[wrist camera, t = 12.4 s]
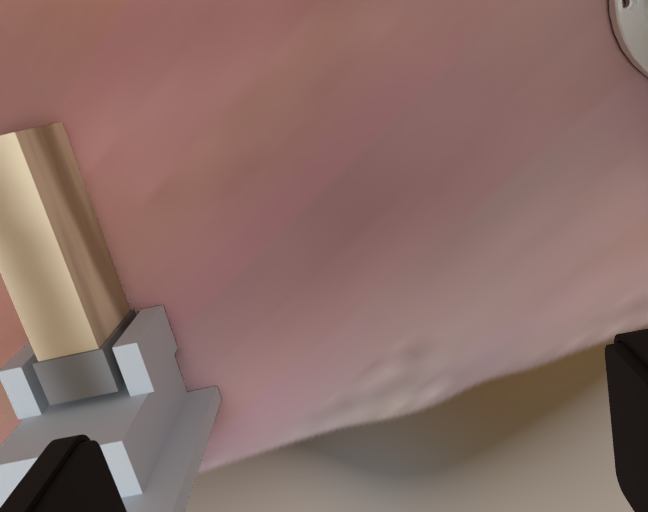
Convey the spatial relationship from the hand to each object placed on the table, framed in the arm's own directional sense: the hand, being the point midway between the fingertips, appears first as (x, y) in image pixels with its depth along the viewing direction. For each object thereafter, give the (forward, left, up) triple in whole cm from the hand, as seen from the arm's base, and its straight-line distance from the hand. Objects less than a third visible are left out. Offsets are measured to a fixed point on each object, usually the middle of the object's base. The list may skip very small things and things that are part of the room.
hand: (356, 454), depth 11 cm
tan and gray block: (+19, +1, -30) cm, 35 cm away
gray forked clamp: (+19, +10, -30) cm, 37 cm away
